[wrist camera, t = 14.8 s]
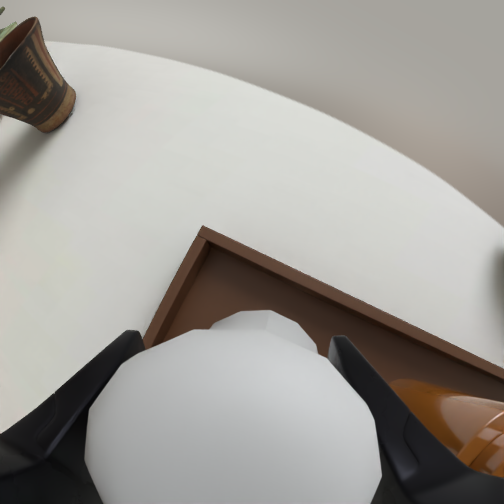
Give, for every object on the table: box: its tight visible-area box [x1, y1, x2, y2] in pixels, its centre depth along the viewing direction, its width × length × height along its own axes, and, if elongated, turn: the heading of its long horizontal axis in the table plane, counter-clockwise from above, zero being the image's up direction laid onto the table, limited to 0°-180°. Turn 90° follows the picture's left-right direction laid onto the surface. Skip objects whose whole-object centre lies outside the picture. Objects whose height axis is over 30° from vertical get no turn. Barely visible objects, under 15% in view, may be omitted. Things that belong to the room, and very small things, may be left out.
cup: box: [0, 17, 76, 133], centre depth 17 cm, size 9×9×10 cm
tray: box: [143, 226, 504, 402], centre depth 13 cm, size 10×29×2 cm, turn 63°
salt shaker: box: [84, 310, 382, 504], centre depth 9 cm, size 6×6×13 cm
